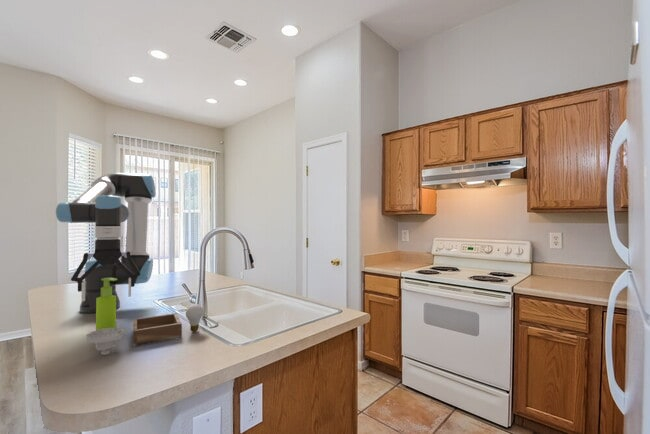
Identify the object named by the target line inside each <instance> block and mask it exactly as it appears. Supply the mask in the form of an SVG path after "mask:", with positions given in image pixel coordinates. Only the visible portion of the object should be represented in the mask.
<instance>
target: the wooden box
mask: <svg viewBox="0 0 650 434" xmlns="http://www.w3.org/2000/svg"><path fill="white" fill-rule="evenodd" d="M182 324H183V323H182V320H181V319H180V317H179V314H178V313H177V312H175V313H167V314H160V315H152V316H146V317H139V318H133V319H132V347H133V348H134V347H139V346H145V345H151V344H155V343H156V344H157V343H161V342H167V341H172V340H179V339H183V338H182V337H183V334H182V333H183V332H182V331H183V329H182V327H183V326H182Z"/></svg>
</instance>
